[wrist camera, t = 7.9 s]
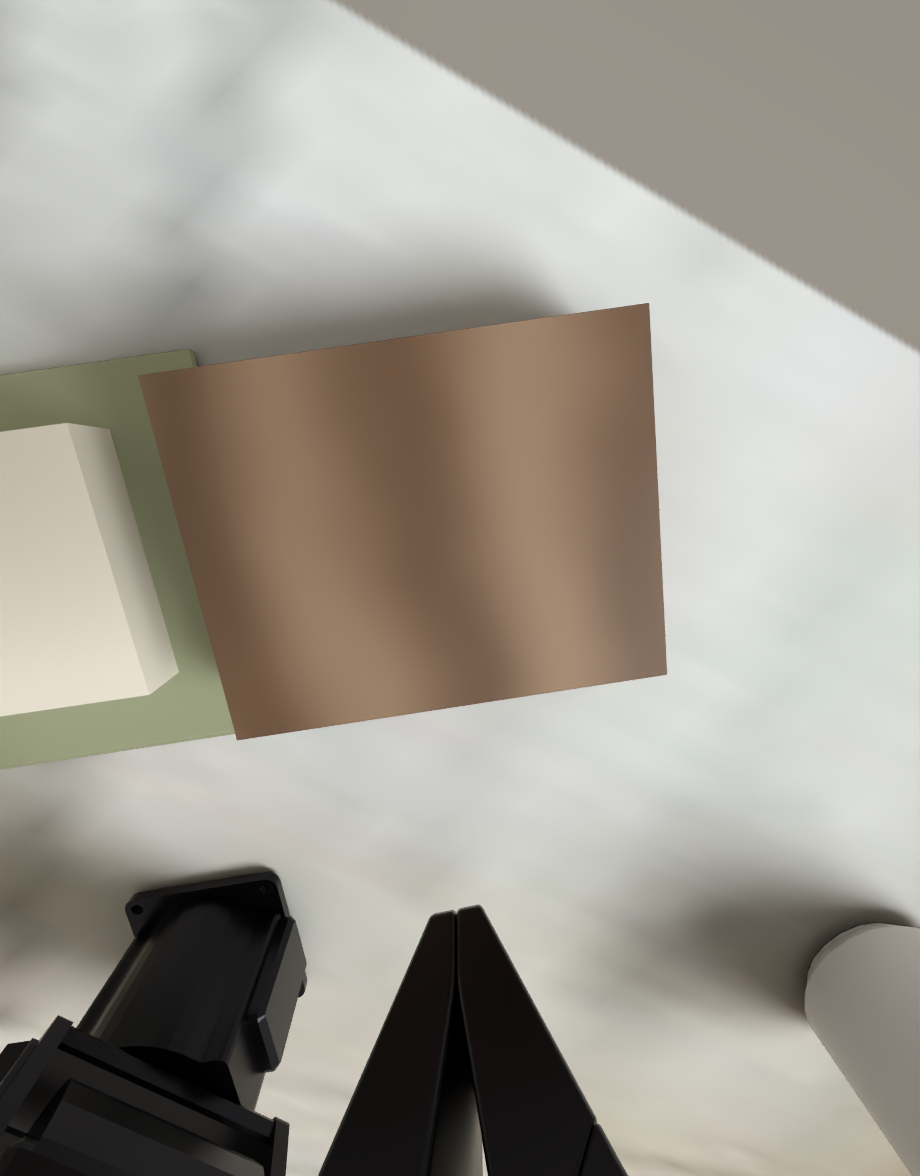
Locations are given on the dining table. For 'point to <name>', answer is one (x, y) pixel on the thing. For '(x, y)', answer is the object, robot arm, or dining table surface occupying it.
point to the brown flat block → (421, 518)
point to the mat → (196, 691)
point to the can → (874, 1024)
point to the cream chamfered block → (73, 576)
